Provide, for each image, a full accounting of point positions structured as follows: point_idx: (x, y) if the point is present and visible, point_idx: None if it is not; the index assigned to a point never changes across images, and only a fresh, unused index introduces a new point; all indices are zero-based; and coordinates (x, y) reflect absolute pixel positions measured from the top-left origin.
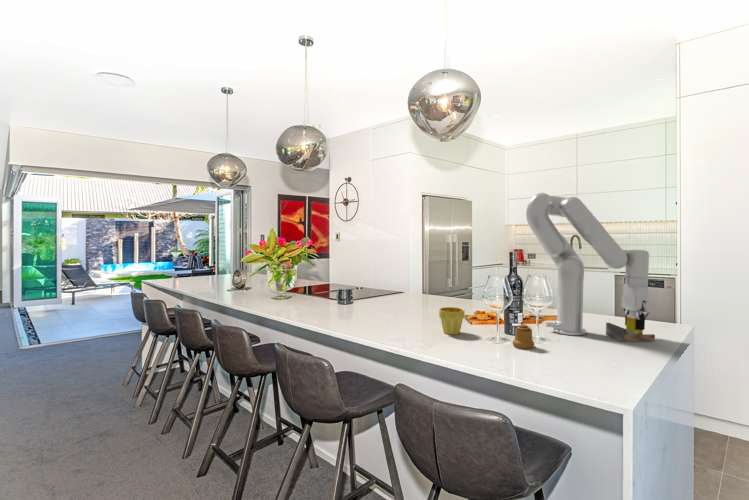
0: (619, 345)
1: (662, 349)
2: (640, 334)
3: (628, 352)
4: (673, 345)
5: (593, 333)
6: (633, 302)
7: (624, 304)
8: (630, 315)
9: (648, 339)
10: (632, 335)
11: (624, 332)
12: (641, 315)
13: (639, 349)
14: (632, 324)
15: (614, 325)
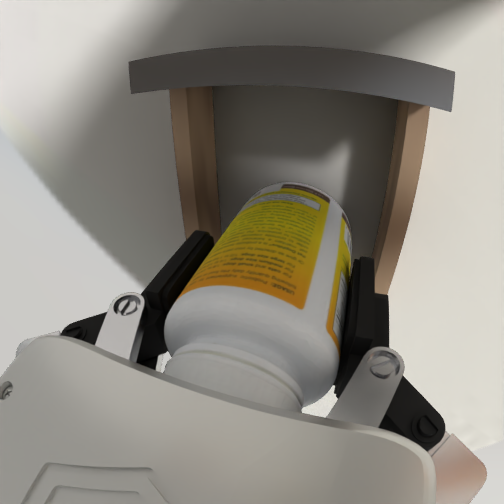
0: (114, 14)
1: (82, 199)
2: (196, 226)
3: (31, 27)
4: None
5: (472, 13)
6: (5, 447)
7: (303, 500)
8: (210, 318)
9: None
10: (177, 154)
11: (382, 223)
12: (84, 331)
13: (63, 92)
14: (217, 245)
15: (275, 59)
